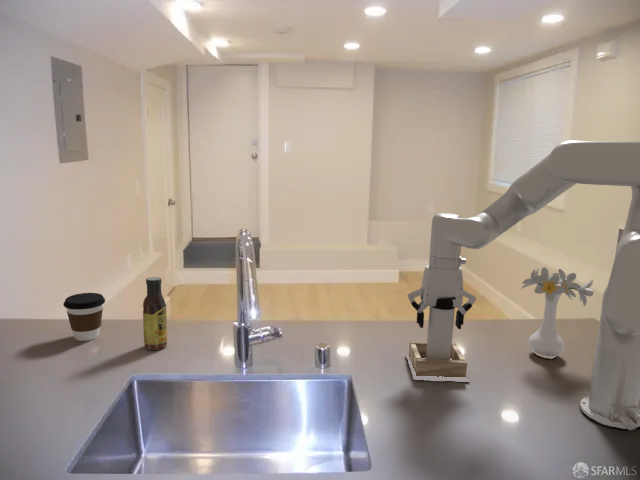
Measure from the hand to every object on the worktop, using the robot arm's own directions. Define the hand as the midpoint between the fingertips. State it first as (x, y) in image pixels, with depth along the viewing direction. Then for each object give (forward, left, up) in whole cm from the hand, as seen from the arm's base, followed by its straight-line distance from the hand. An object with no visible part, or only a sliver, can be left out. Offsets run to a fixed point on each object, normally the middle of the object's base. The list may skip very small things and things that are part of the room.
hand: (439, 326), depth 131 cm
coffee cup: (+13, +99, -12) cm, 101 cm away
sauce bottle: (+8, +77, -12) cm, 78 cm away
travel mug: (0, 0, -11) cm, 11 cm away
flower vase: (+12, -34, -12) cm, 38 cm away
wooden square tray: (0, 0, -12) cm, 12 cm away
